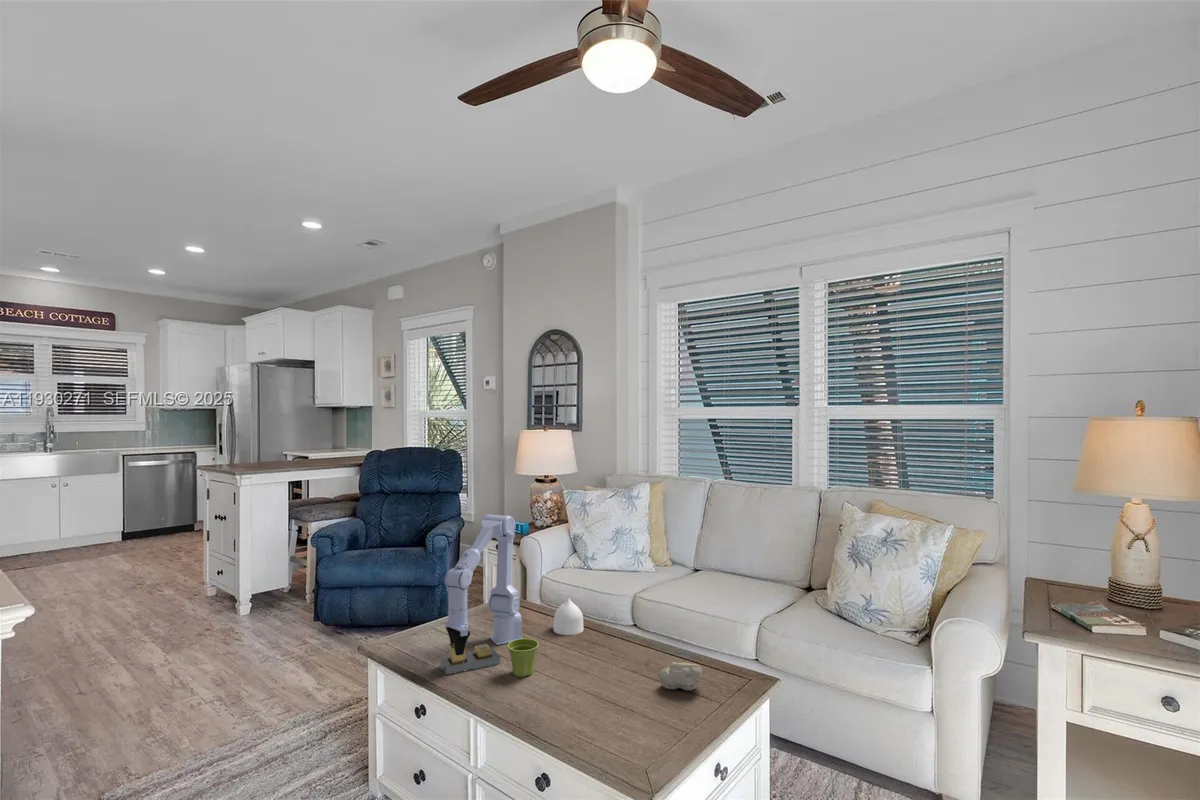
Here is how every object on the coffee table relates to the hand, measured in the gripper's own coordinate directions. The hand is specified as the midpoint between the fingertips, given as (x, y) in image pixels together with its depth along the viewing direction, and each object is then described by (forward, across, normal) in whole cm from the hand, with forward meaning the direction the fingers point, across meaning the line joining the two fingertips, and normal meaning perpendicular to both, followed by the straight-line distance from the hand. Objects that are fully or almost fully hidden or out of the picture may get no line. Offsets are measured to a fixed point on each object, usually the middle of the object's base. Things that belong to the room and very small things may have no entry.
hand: (457, 652), depth 186 cm
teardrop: (+5, -13, +44) cm, 47 cm away
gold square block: (+3, 0, 0) cm, 3 cm away
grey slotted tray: (+5, 0, +4) cm, 6 cm away
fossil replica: (+5, +44, +52) cm, 69 cm away
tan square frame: (+5, 0, +8) cm, 9 cm away
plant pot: (+5, +13, +16) cm, 22 cm away
